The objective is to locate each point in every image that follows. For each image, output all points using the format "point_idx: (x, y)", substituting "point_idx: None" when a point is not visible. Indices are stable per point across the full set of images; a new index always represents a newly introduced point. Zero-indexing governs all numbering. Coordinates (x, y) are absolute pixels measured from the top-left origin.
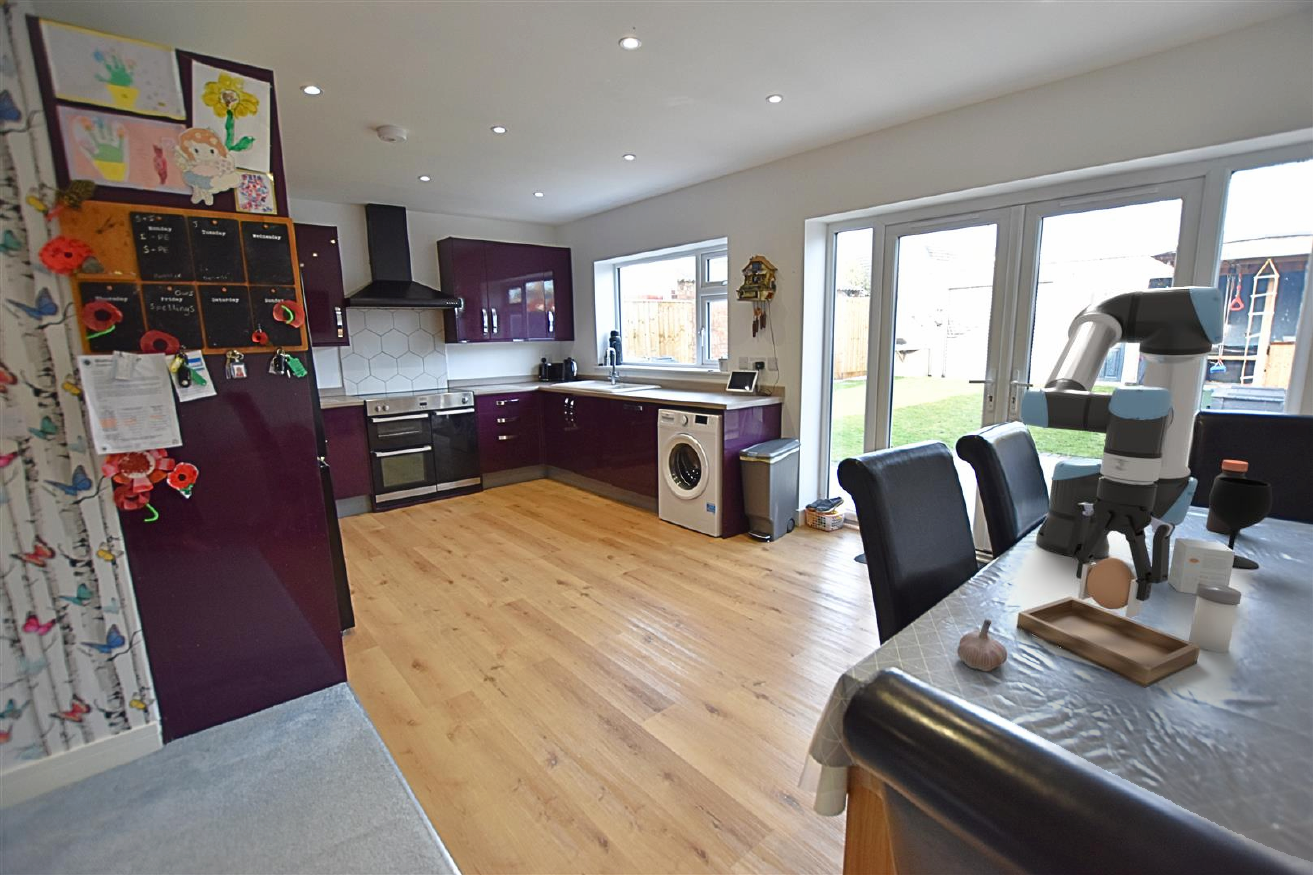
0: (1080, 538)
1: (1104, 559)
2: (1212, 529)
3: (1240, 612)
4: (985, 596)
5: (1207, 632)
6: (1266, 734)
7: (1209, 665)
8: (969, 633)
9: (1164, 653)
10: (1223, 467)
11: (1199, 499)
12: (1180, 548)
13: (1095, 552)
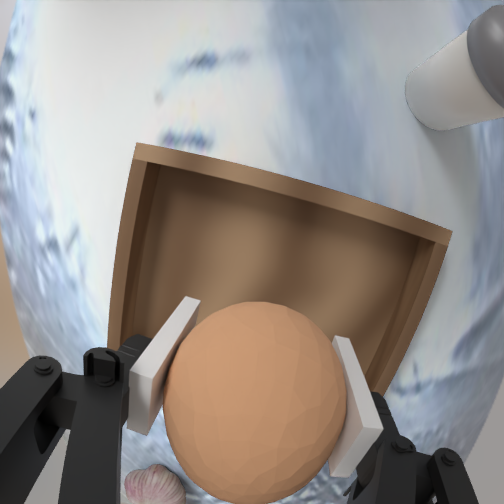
0: (25, 476)
1: (194, 478)
2: None
3: None
4: (27, 237)
5: (456, 124)
6: (475, 395)
7: (448, 215)
8: (130, 501)
9: (384, 252)
10: None
11: None
12: None
13: (119, 432)
